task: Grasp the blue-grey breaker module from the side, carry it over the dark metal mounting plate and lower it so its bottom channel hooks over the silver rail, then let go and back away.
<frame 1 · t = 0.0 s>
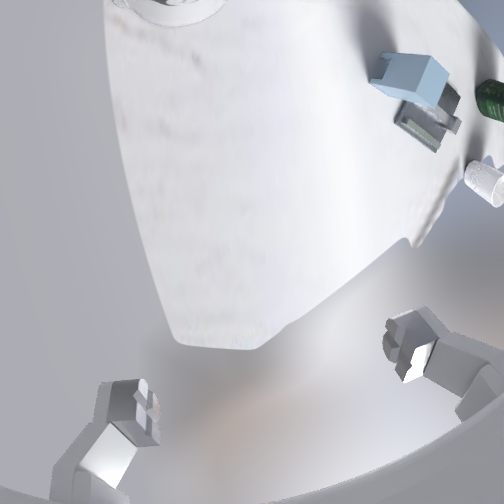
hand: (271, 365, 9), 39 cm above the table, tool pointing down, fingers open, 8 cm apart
rail plate: (428, 108, 44), on the table
coffee jar: (485, 96, 43), on the table
white cup: (471, 172, 54), on the table
module: (385, 74, 39), on the table
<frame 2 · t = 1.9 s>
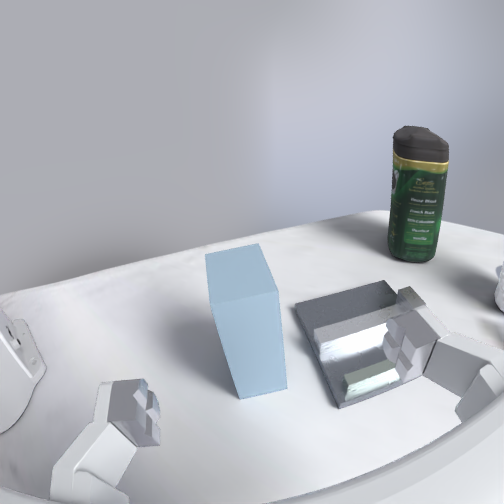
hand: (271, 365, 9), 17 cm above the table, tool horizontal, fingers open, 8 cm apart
rail plate: (367, 337, 29), on the table
coffee jar: (410, 248, 42), on the table
module: (256, 368, 28), on the table
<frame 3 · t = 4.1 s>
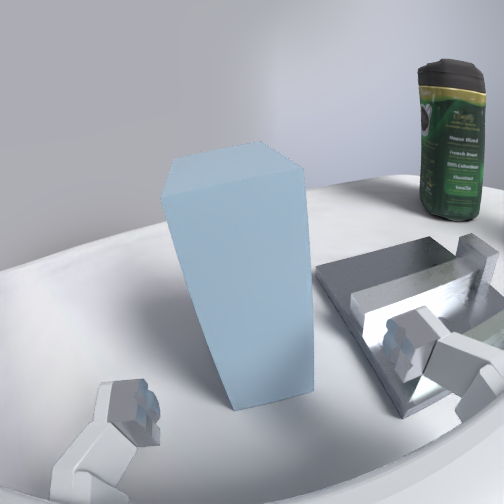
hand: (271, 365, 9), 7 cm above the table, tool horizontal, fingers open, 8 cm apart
rail plate: (424, 307, 19), on the table
coffee jar: (448, 208, 32), on the table
module: (262, 359, 18), on the table
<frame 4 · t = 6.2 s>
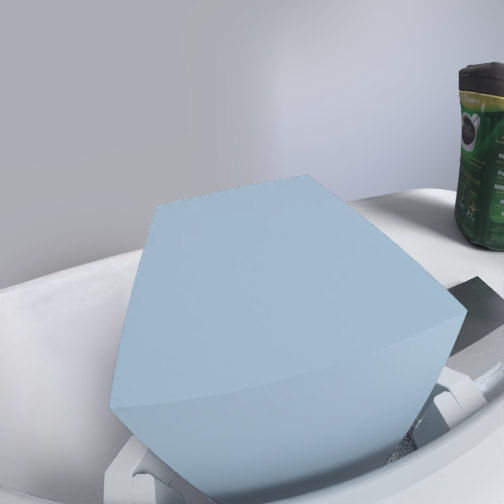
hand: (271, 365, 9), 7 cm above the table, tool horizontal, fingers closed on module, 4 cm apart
rail plate: (478, 375, 13), on the table
coffee jar: (485, 233, 26), on the table
module: (289, 460, 12), on the table, touching gripper
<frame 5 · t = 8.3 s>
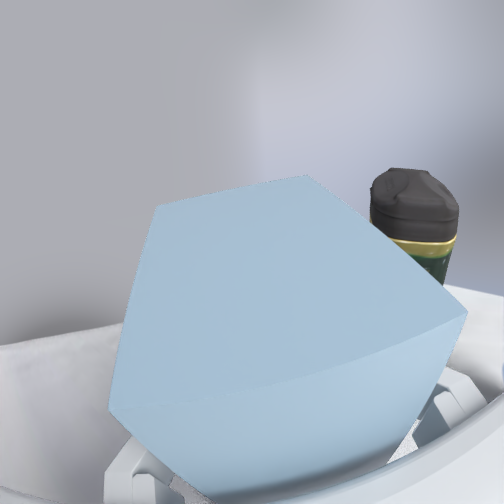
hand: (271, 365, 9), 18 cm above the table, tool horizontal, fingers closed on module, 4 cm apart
coffee jar: (390, 337, 31), on the table
module: (289, 460, 12), point 11 cm above the table, touching gripper
when the fingers open (9 cm above the table, at t = 10.8 s): module drops 1 cm, resting on rail plate.
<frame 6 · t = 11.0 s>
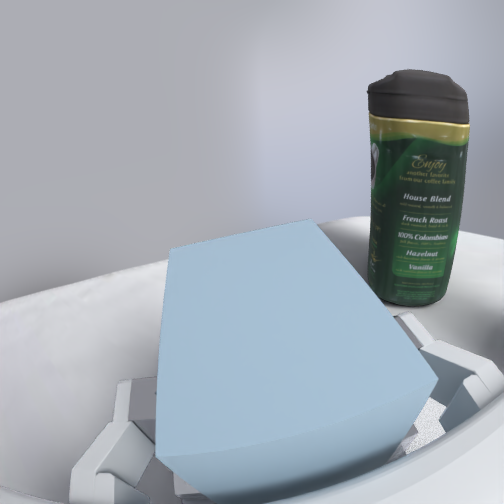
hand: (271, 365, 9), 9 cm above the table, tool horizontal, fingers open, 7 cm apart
rail plate: (291, 472, 13), on the table
coffee jar: (406, 278, 26), on the table
module: (290, 468, 12), point 1 cm above the table, touching rail plate
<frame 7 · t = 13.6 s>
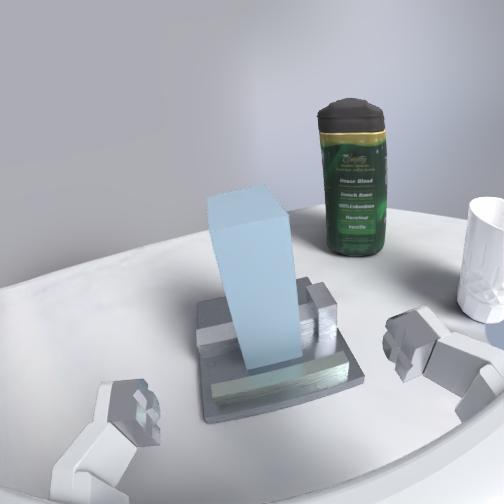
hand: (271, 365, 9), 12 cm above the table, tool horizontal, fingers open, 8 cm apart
rail plate: (268, 343, 26), on the table
coffee jar: (357, 241, 39), on the table
white cup: (482, 304, 23), on the table
module: (266, 335, 25), point 1 cm above the table, touching rail plate
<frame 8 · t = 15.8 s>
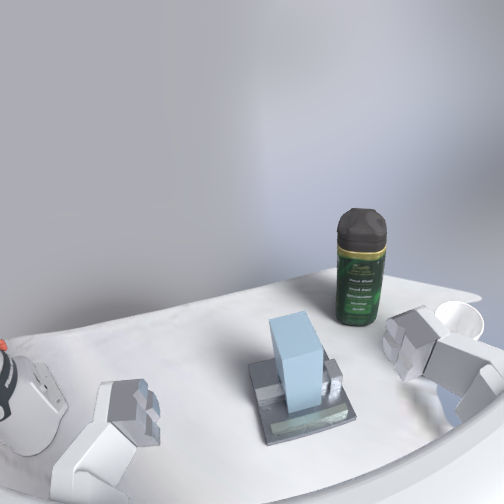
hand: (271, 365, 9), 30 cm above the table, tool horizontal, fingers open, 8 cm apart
rail plate: (298, 394, 39), on the table
coffee jar: (357, 310, 52), on the table
white cup: (440, 366, 37), on the table
module: (298, 390, 38), point 1 cm above the table, touching rail plate
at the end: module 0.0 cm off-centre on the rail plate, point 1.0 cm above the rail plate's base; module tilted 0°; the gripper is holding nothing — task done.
